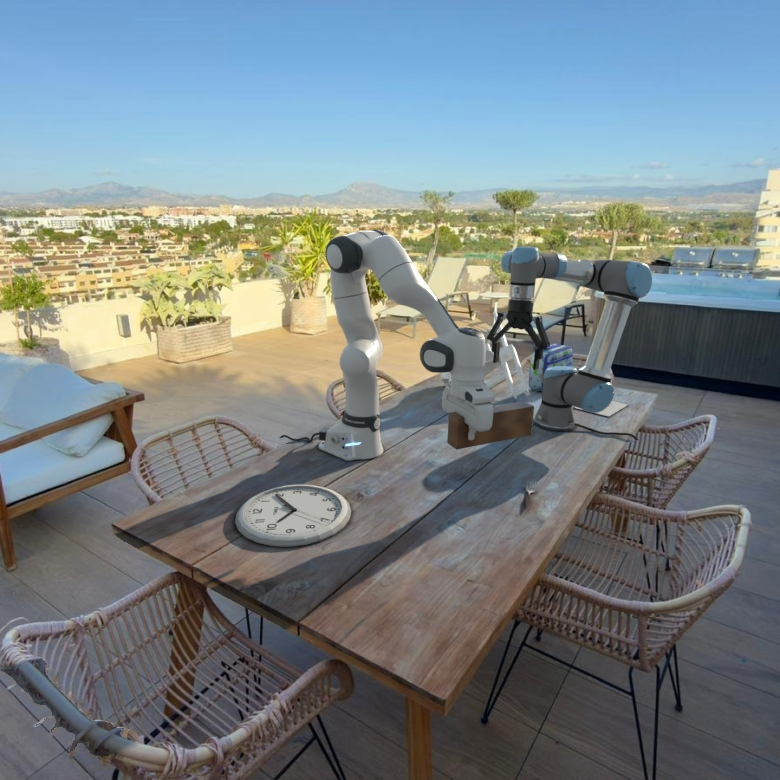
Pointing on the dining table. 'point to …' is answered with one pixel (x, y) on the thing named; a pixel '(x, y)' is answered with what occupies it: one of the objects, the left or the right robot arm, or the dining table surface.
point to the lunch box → (549, 363)
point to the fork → (529, 490)
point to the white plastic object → (504, 355)
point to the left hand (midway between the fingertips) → (463, 435)
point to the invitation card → (610, 408)
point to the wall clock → (293, 515)
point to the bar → (493, 426)
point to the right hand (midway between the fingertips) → (515, 365)
